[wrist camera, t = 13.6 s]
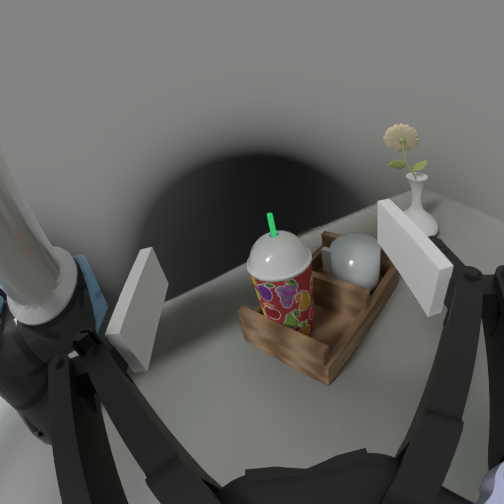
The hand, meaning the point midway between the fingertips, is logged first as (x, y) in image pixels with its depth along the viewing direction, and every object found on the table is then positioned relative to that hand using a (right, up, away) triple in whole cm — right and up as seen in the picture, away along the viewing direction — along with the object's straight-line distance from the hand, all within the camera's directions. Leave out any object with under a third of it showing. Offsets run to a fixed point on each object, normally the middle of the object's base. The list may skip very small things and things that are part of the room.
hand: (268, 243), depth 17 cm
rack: (+12, -11, +32) cm, 36 cm away
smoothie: (+5, -13, +28) cm, 32 cm away
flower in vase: (+36, +4, +45) cm, 58 cm away
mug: (+16, -7, +33) cm, 38 cm away
